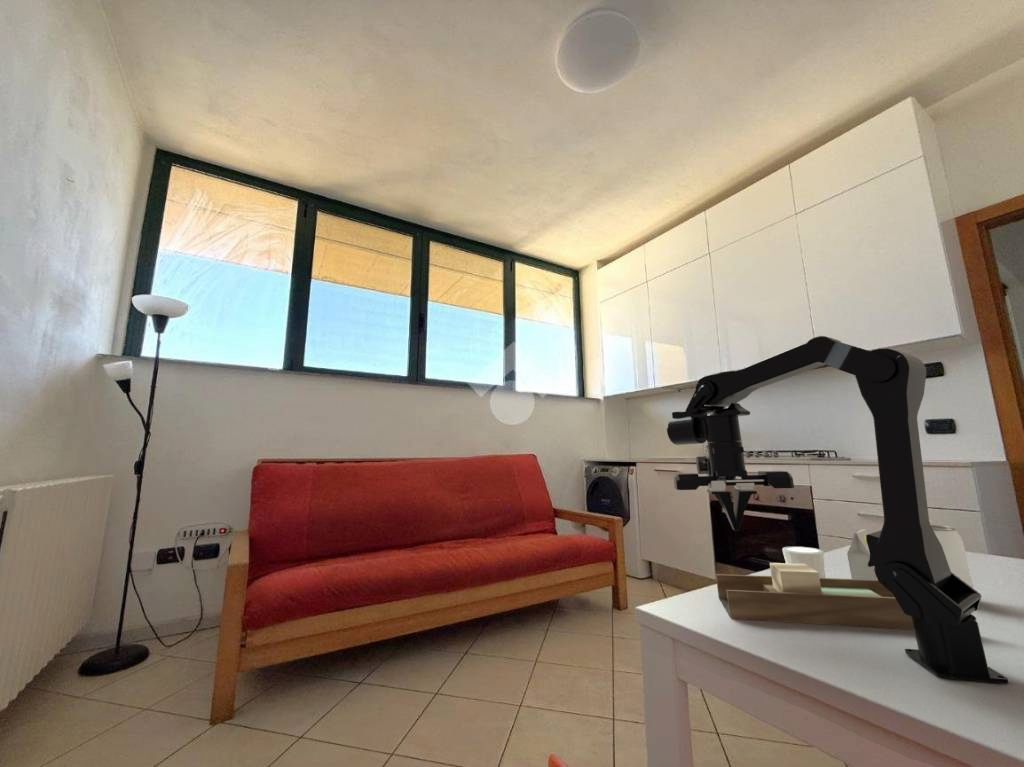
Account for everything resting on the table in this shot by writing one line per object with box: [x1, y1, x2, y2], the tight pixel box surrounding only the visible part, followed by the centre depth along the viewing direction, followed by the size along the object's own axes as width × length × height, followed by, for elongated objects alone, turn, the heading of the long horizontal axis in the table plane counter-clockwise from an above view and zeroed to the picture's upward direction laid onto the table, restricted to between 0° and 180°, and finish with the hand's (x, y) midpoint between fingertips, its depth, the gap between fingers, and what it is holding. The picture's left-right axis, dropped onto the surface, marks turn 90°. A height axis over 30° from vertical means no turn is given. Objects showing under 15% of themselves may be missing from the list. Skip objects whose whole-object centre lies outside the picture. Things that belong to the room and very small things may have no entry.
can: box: [930, 524, 975, 590], centre depth 72 cm, size 6×6×12 cm
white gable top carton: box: [846, 528, 878, 580], centre depth 82 cm, size 4×7×10 cm, turn 126°
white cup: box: [781, 545, 826, 578], centre depth 81 cm, size 7×7×7 cm
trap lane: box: [715, 573, 914, 631], centre depth 67 cm, size 10×30×4 cm, turn 73°
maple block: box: [769, 562, 822, 594], centre depth 69 cm, size 6×6×4 cm
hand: (736, 530), depth 73 cm, fingers closed
